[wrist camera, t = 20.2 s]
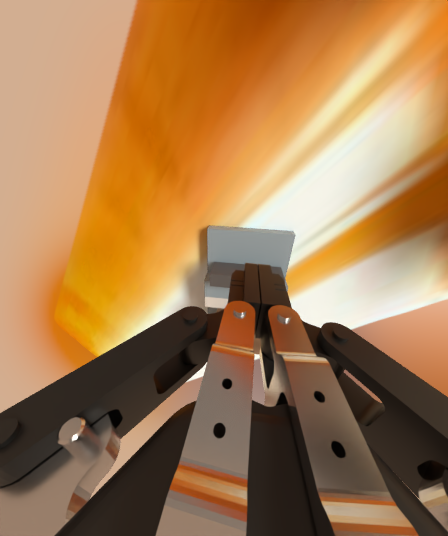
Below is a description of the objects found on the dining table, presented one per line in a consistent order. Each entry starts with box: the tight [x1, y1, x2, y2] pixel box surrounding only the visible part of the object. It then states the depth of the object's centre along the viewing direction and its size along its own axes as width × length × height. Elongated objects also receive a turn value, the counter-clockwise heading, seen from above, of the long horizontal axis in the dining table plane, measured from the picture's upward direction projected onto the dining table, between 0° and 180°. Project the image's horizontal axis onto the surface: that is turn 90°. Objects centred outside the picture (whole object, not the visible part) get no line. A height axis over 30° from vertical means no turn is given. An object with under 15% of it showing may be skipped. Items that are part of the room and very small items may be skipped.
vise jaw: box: [205, 262, 288, 309], centre depth 28 cm, size 7×12×4 cm, turn 88°
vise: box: [207, 226, 295, 314], centre depth 31 cm, size 22×12×4 cm, turn 178°
